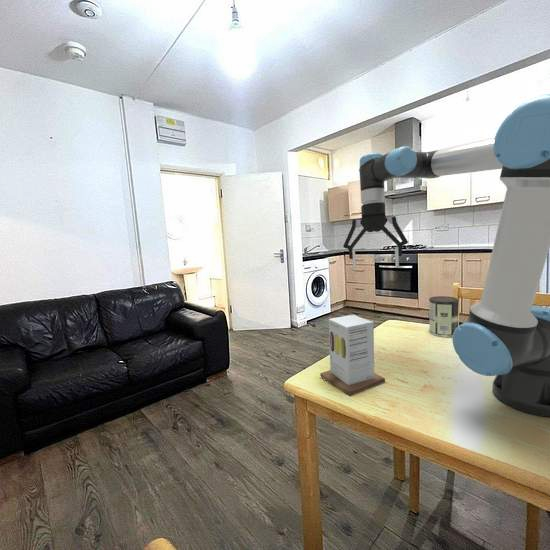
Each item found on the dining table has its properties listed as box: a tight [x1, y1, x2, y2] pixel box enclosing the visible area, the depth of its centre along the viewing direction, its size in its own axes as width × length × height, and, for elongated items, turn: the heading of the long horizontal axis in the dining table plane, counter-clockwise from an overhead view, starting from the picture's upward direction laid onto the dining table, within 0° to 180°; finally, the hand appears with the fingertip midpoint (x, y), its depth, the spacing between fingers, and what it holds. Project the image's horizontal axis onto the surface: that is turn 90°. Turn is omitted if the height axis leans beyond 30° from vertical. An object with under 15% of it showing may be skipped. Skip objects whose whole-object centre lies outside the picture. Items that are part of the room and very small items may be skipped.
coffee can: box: [428, 295, 460, 338], centre depth 120 cm, size 10×10×14 cm
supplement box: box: [328, 314, 375, 385], centre depth 87 cm, size 10×9×17 cm
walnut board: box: [320, 369, 386, 397], centre depth 88 cm, size 13×13×1 cm
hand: (375, 267), depth 100 cm, fingers open, 13 cm apart
